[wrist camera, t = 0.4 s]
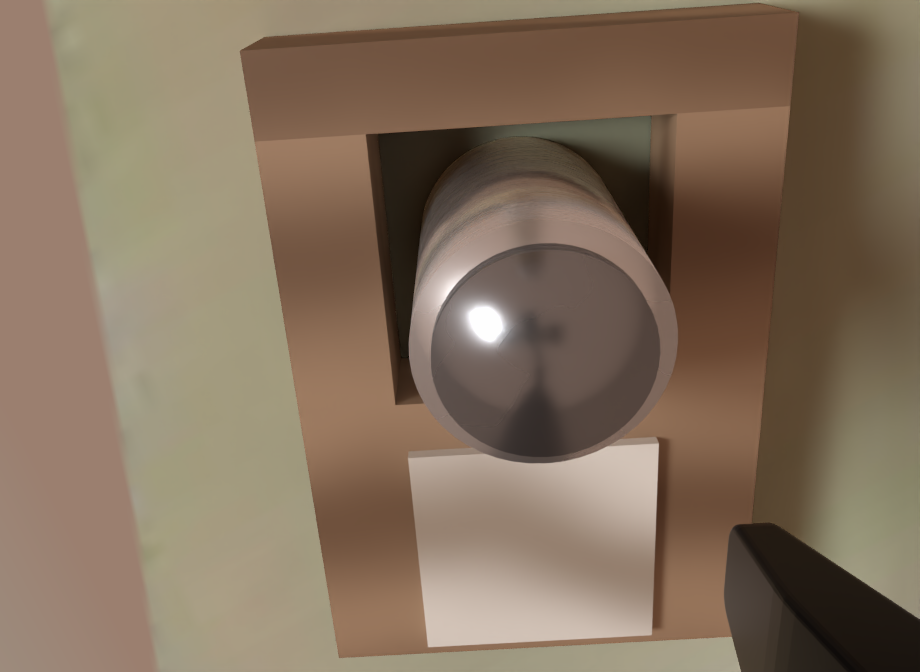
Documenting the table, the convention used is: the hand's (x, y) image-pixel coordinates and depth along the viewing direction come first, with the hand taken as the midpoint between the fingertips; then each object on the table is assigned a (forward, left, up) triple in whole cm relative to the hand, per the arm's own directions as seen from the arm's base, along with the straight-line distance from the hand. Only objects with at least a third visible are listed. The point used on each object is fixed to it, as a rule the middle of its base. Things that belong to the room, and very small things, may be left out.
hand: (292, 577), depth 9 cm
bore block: (-4, -3, -14) cm, 14 cm away
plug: (-1, -3, -14) cm, 14 cm away
